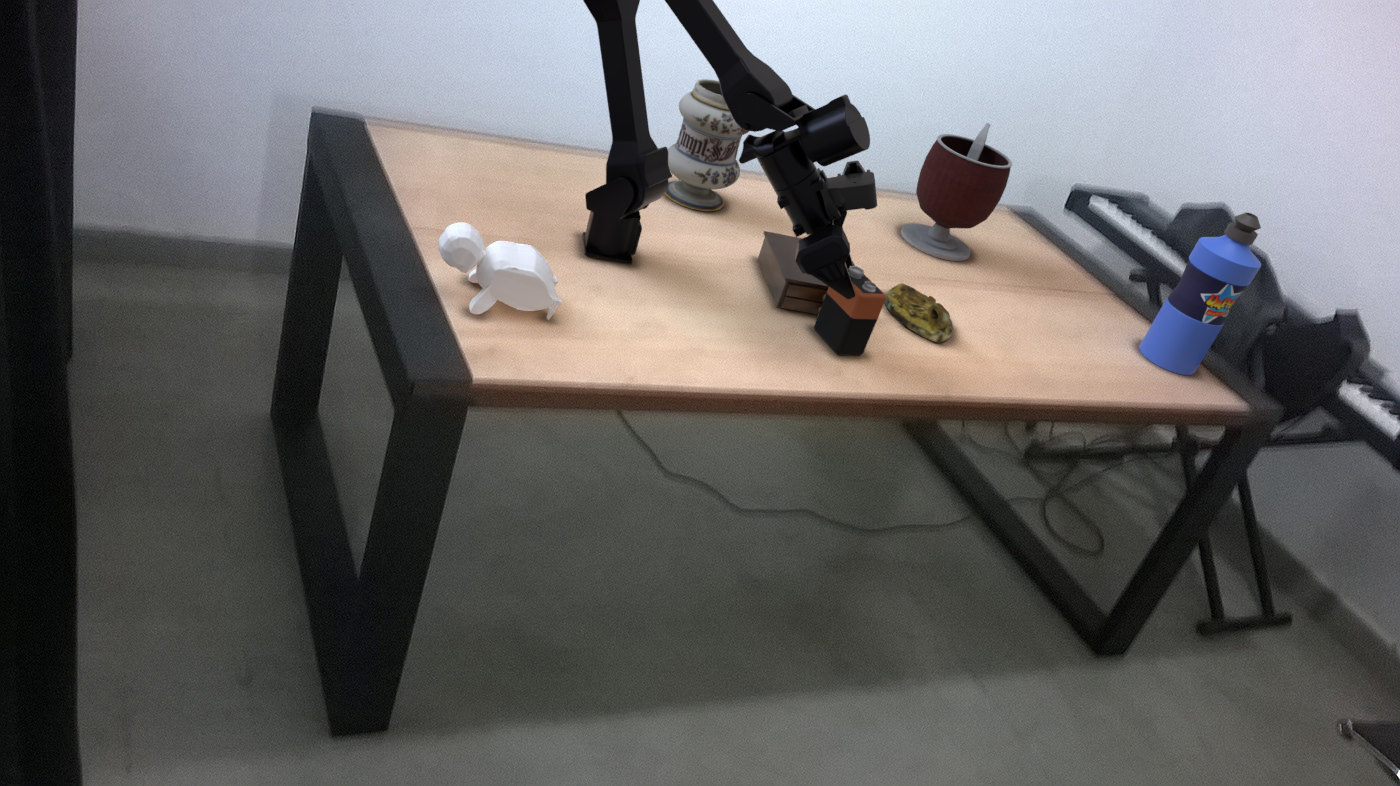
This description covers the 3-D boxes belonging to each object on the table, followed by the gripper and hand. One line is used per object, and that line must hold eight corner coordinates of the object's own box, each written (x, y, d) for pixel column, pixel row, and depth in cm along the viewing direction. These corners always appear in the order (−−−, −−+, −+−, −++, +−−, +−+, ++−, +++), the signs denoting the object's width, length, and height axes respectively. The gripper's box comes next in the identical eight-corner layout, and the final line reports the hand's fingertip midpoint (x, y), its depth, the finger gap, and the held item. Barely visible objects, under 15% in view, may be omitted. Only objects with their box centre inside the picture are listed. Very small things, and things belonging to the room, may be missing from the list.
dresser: (776, 311, 143) (787, 281, 141) (754, 258, 156) (764, 230, 154) (861, 326, 147) (873, 297, 144) (833, 273, 159) (844, 246, 157)
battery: (837, 328, 144) (863, 263, 139) (863, 356, 139) (891, 290, 134) (811, 328, 142) (836, 262, 137) (836, 356, 137) (863, 289, 132)
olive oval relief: (867, 293, 159) (911, 346, 148) (875, 265, 157) (920, 317, 145) (922, 293, 162) (969, 345, 151) (931, 266, 160) (979, 316, 148)
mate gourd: (967, 272, 175) (1018, 158, 165) (888, 239, 178) (934, 126, 167) (980, 244, 188) (1028, 138, 178) (906, 215, 191) (950, 108, 180)
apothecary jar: (692, 178, 177) (722, 72, 167) (744, 210, 171) (778, 103, 162) (640, 184, 168) (669, 73, 159) (693, 218, 162) (726, 106, 153)
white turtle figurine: (530, 309, 132) (420, 252, 125) (568, 257, 129) (458, 195, 121) (535, 346, 125) (419, 287, 118) (575, 291, 122) (459, 228, 115)
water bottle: (1207, 378, 165) (1297, 234, 152) (1159, 371, 162) (1246, 224, 149) (1174, 346, 173) (1256, 206, 160) (1127, 339, 170) (1207, 196, 157)
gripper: (858, 172, 119) (915, 286, 125) (852, 124, 135) (903, 227, 141) (769, 216, 123) (830, 325, 129) (774, 164, 139) (827, 263, 145)
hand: (850, 282), depth 136 cm, fingers open, 9 cm apart
